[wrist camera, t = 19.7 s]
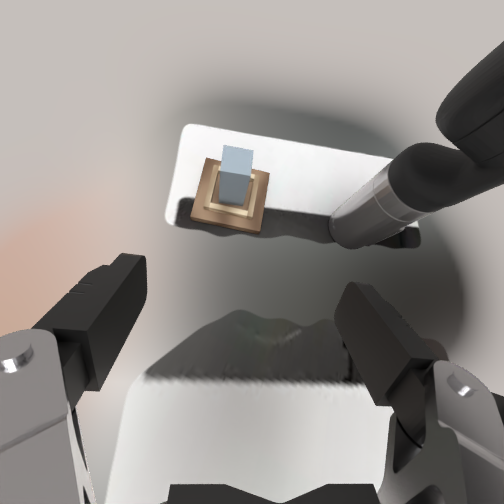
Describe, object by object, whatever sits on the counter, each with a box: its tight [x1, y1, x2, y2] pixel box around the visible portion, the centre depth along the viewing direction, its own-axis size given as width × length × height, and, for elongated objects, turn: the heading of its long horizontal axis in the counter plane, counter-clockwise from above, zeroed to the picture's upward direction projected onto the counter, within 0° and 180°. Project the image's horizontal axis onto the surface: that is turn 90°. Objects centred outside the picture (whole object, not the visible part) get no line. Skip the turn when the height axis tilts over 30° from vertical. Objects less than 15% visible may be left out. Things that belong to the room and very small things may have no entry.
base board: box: [190, 158, 270, 234], centre depth 45 cm, size 13×13×3 cm
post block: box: [219, 145, 253, 206], centre depth 40 cm, size 5×5×10 cm
